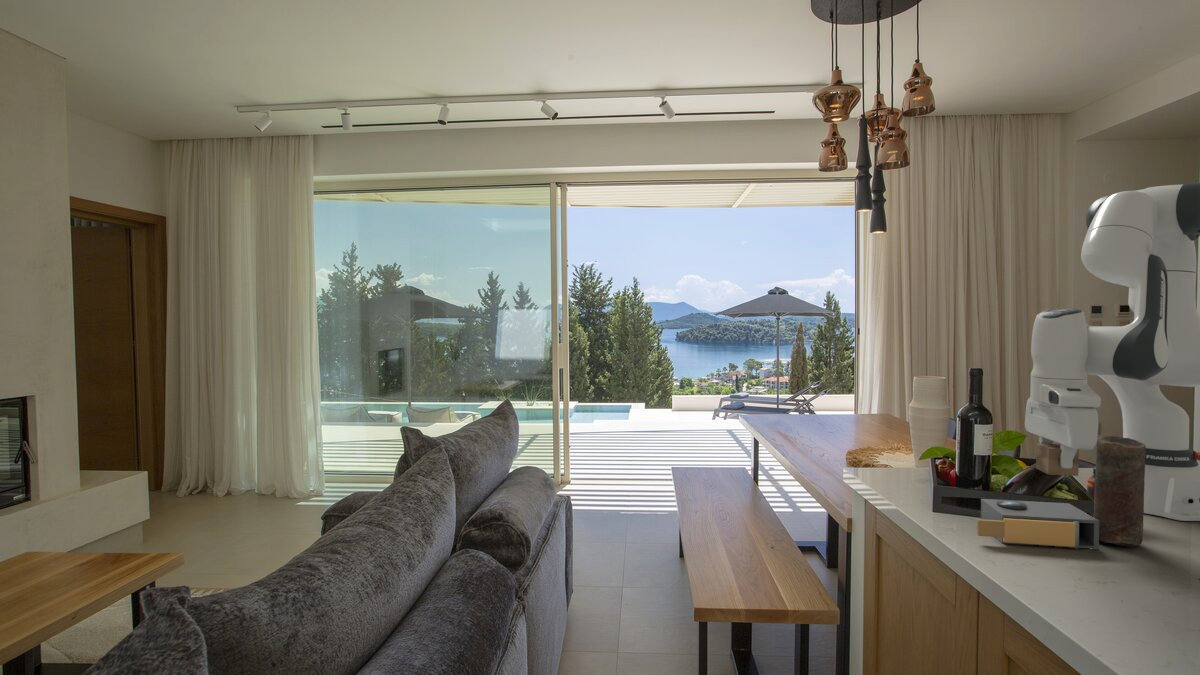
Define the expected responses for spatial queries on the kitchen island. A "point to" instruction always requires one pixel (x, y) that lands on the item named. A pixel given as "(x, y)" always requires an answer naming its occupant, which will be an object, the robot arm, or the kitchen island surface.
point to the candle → (1120, 490)
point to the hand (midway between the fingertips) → (1056, 463)
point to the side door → (1031, 531)
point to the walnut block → (1054, 460)
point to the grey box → (1043, 517)
